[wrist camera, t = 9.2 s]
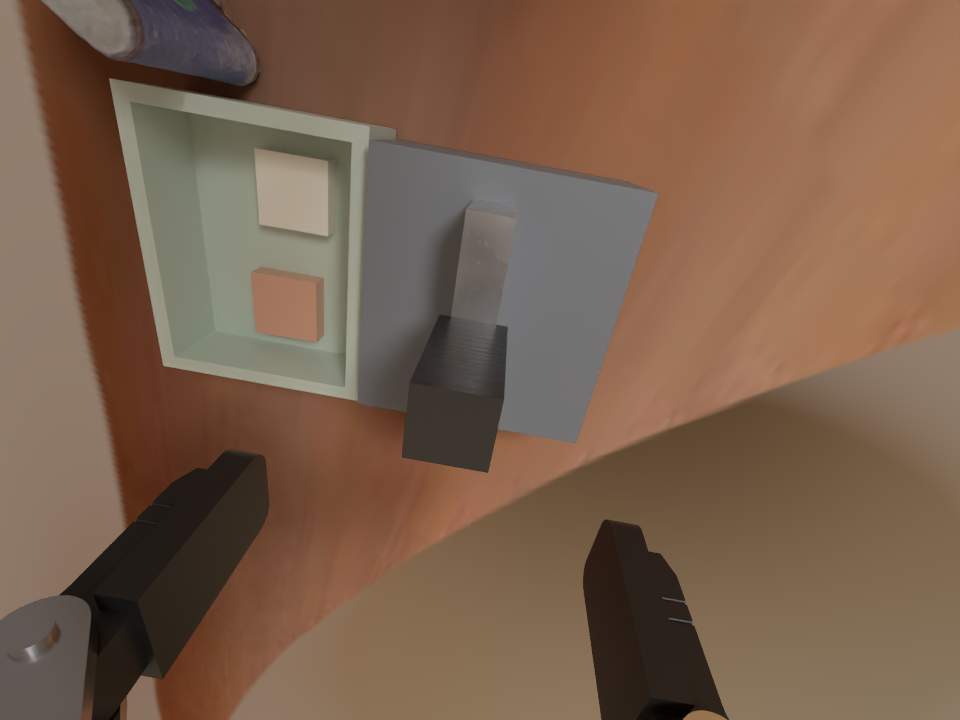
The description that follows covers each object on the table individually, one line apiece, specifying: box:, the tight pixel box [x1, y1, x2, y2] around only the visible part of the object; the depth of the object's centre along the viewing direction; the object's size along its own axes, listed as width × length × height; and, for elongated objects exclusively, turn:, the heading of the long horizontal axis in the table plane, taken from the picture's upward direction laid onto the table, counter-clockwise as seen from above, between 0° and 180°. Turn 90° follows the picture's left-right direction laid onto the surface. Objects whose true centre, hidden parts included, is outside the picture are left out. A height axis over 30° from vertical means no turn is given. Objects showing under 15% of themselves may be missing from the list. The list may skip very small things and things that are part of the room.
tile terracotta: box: [251, 267, 324, 342], centre depth 28 cm, size 4×4×1 cm
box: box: [109, 78, 396, 401], centre depth 26 cm, size 15×12×5 cm
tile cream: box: [254, 148, 336, 236], centre depth 25 cm, size 4×4×1 cm
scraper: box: [402, 199, 517, 473], centre depth 19 cm, size 12×3×10 cm, turn 171°
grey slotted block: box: [357, 140, 658, 443], centre depth 25 cm, size 14×13×6 cm
